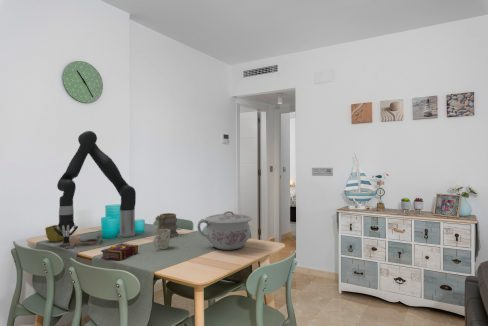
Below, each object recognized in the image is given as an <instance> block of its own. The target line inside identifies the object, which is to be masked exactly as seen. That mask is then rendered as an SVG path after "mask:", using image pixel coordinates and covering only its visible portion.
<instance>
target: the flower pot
mask: <svg viewBox="0 0 488 326" xmlns="http://www.w3.org/2000/svg"><path fill="white" fill-rule="evenodd" d="M57 226H58V224H54V225H49V226H46V227H45V228H44V229H45V235H46V238H47V240H48V241H49V242H51V241H52V242H55V243H57V242H62V241H63V236H60V235H59V234H58V233H57V232H56V231H55V230H54V228H55V227H57ZM59 230H60V231H61V232H62V233H63V231H62V230H61V229H60V228H59Z"/></svg>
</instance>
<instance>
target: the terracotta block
mask: <svg viewBox="0 0 488 326" xmlns="http://www.w3.org/2000/svg"><path fill="white" fill-rule="evenodd" d="M80 240H81V236H73V237H69V241H70V243H69V246H74V245H75V244H76V243H81V242H80ZM74 247H75V246H74Z"/></svg>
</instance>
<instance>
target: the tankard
mask: <svg viewBox="0 0 488 326" xmlns="http://www.w3.org/2000/svg"><path fill="white" fill-rule="evenodd" d="M154 219H155V221H158V225H157V230H159V229H169V230H170V238H174V237H176V236H178V235H179V232H178V231H177V229H178V224H177V222H178V218H177V214H176V213H172V212H170V213H169V212H166V213H160V214H159V215H157V216H156V217H155V218H154Z"/></svg>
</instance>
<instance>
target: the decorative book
mask: <svg viewBox="0 0 488 326" xmlns="http://www.w3.org/2000/svg"><path fill="white" fill-rule="evenodd" d="M138 251H139V246H138V245H137V244H127V243H118V244H117V245H113V246H110V247H109V248H105V249H102V250H100V252H101V253H102V256H101V257H100V259H101V258H102V259H104V260H113V261H121V260H125V259H127V258H128V257H130V256H134V255H135V254H137V253H138ZM102 259H101V260H102Z"/></svg>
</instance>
